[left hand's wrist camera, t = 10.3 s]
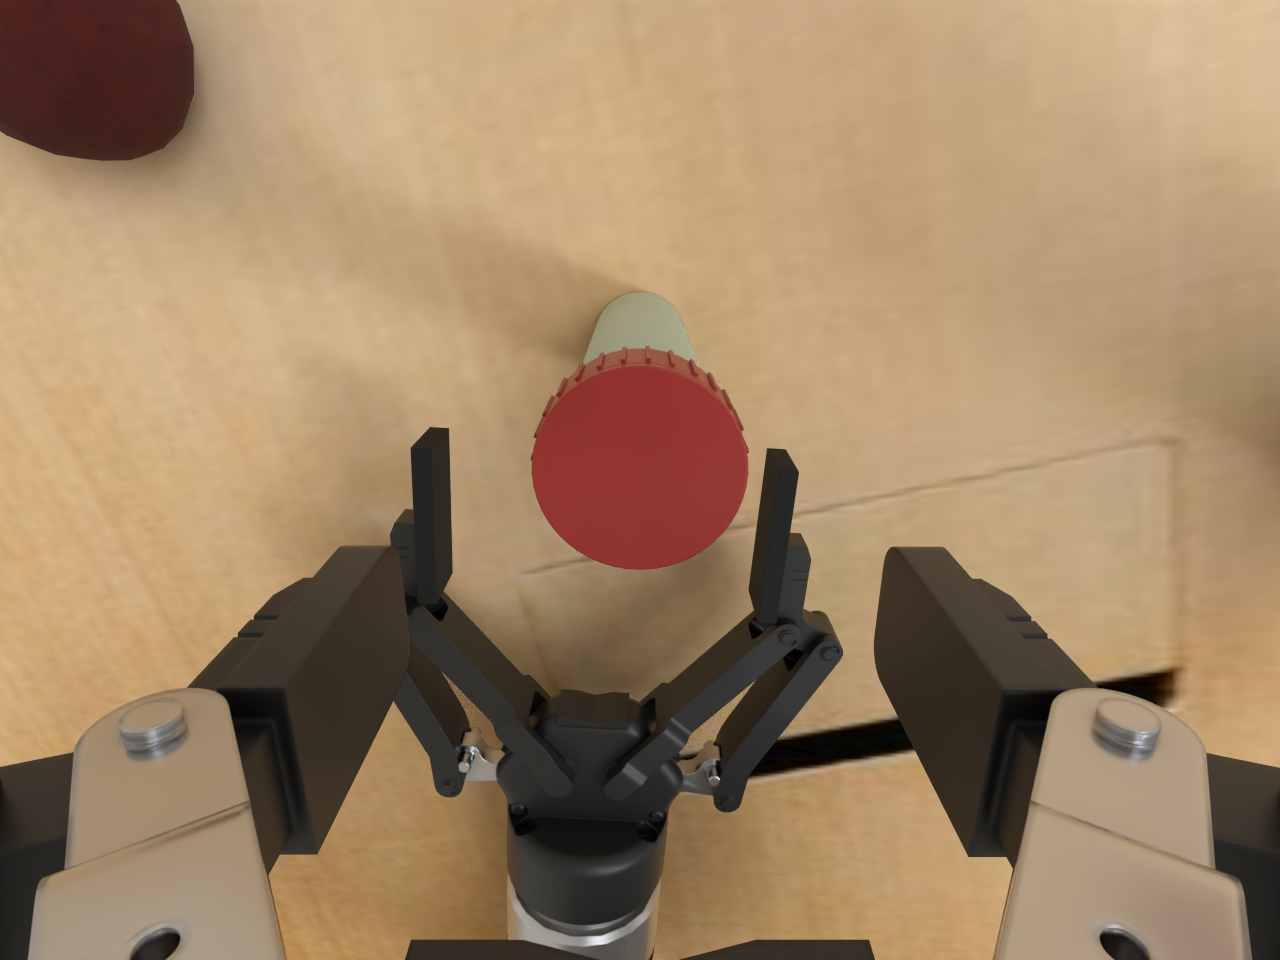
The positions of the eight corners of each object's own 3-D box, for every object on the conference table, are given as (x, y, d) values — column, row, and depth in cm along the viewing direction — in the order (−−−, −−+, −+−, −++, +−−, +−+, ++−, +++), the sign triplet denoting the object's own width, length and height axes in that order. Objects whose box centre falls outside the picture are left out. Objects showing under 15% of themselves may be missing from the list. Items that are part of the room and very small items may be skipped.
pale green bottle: (672, 281, 32) (705, 359, 16) (694, 369, 34) (745, 524, 18) (583, 305, 33) (529, 405, 17) (608, 392, 34) (580, 563, 18)
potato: (0, 59, 29) (-187, 17, 23) (114, -100, 27) (-52, -195, 21) (156, 208, 31) (26, 209, 25) (273, 68, 29) (167, 30, 23)
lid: (714, 321, 18) (724, 335, 16) (758, 509, 19) (771, 544, 17) (514, 375, 18) (497, 396, 16) (573, 554, 20) (566, 593, 18)
